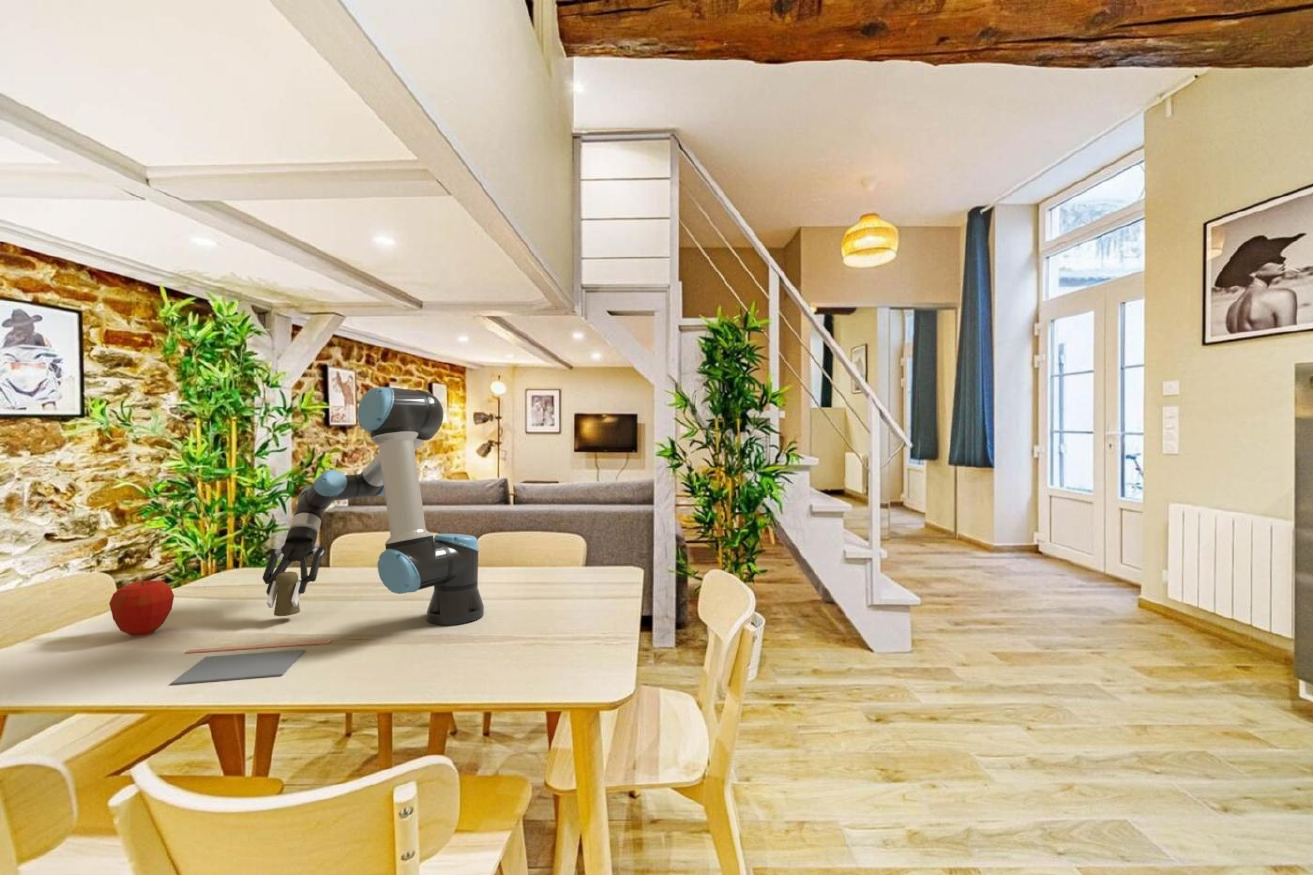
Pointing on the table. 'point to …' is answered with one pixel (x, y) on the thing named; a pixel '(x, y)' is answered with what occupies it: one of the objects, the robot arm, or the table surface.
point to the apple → (141, 607)
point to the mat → (239, 667)
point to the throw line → (258, 646)
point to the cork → (286, 594)
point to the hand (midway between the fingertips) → (281, 604)
